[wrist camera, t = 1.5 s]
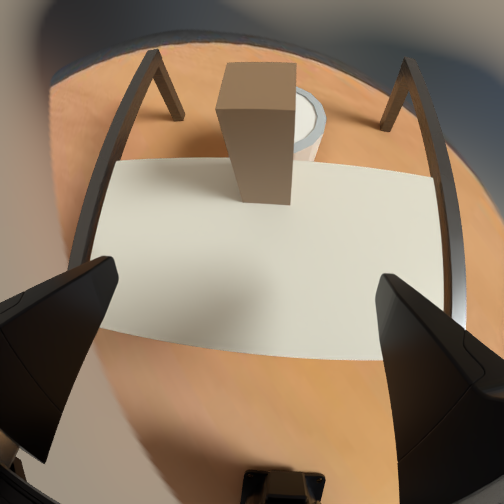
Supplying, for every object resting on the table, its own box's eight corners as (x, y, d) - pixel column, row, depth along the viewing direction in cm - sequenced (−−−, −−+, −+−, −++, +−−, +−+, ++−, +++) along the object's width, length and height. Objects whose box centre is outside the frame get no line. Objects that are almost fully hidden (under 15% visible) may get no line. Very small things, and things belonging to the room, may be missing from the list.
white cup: (223, 164, 26) (206, 114, 19) (280, 124, 26) (278, 70, 20) (275, 216, 24) (272, 173, 17) (332, 169, 25) (346, 119, 18)
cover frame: (400, 349, 20) (463, 356, 11) (130, 325, 23) (60, 317, 14) (388, 123, 25) (415, 59, 17) (176, 113, 28) (147, 50, 19)
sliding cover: (435, 357, 12) (536, 365, 5) (86, 323, 15) (-17, 307, 7) (428, 182, 15) (492, 102, 8) (120, 165, 17) (55, 90, 10)
